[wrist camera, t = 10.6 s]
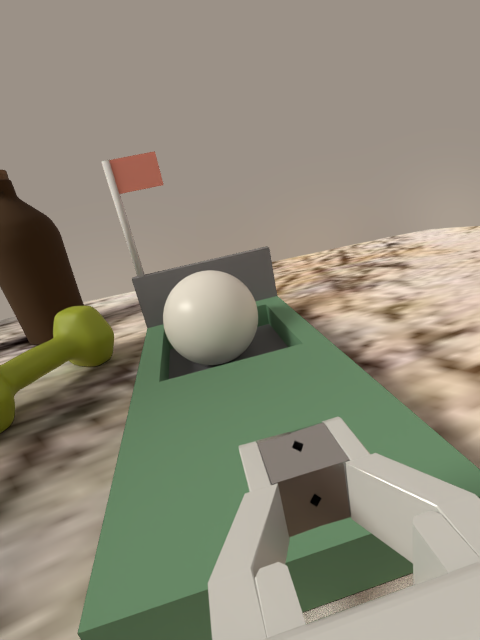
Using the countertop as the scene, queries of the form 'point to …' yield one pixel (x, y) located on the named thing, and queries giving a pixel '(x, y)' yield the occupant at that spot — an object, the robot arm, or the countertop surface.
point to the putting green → (233, 454)
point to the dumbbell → (56, 354)
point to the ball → (210, 317)
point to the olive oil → (33, 266)
